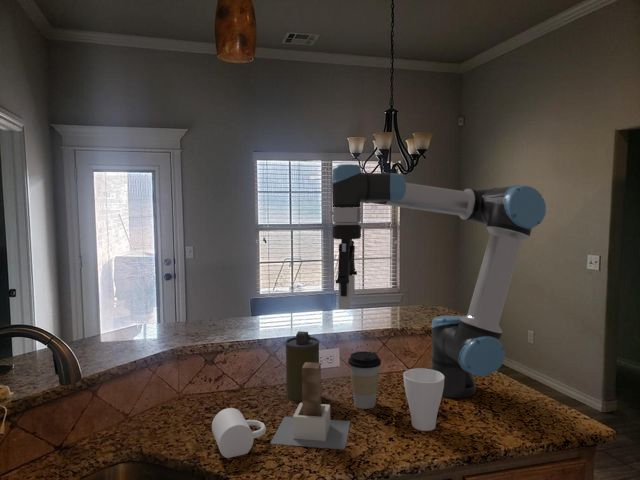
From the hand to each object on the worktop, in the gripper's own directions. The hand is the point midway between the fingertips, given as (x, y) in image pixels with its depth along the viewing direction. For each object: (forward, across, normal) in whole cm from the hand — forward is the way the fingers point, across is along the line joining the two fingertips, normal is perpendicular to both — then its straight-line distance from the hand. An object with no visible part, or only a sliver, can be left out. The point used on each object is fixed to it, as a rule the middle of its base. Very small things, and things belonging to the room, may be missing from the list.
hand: (347, 303), depth 116 cm
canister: (+32, -12, -15) cm, 37 cm away
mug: (+32, +18, -24) cm, 44 cm away
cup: (+32, +1, +20) cm, 38 cm away
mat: (+32, +10, -8) cm, 34 cm away
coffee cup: (+32, -8, +4) cm, 33 cm away
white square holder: (+31, +10, -8) cm, 33 cm away
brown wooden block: (+30, +10, -8) cm, 32 cm away
